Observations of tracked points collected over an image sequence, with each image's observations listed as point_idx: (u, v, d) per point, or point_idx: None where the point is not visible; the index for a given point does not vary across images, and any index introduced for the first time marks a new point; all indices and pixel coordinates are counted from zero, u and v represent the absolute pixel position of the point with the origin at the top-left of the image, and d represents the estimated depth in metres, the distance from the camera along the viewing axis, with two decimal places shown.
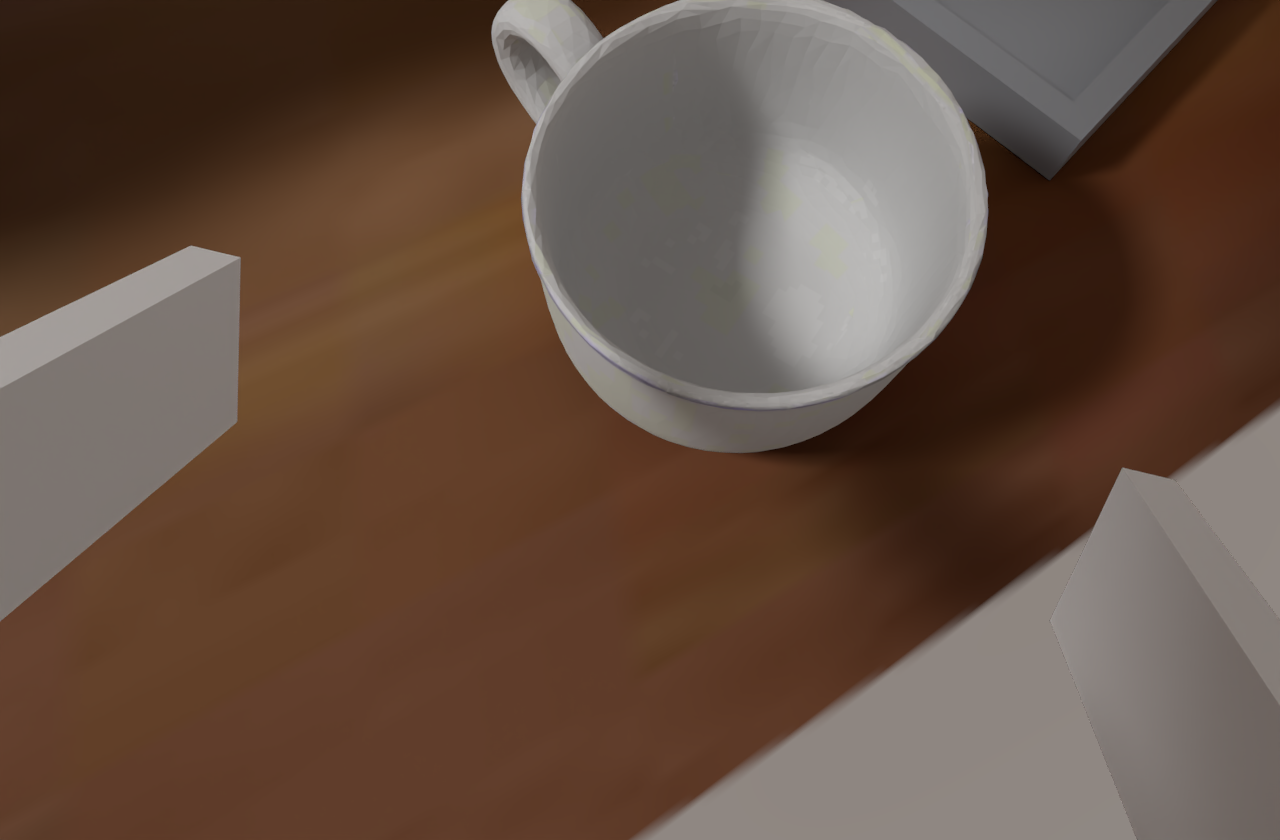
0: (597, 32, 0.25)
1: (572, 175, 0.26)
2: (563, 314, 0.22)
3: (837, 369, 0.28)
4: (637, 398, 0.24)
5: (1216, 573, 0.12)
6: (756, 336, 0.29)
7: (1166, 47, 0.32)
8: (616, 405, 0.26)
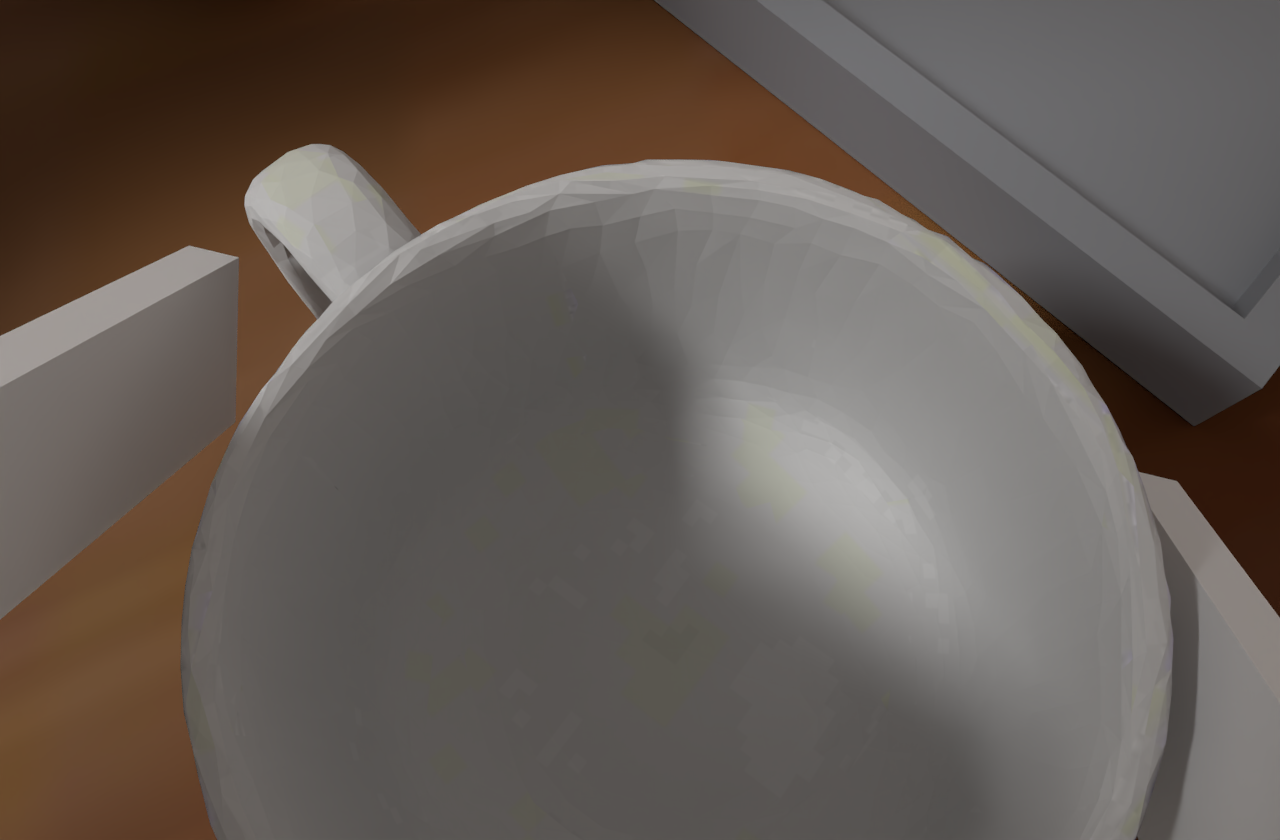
0: (408, 229, 0.13)
1: (380, 466, 0.15)
2: None
3: (856, 814, 0.16)
4: None
5: (1218, 574, 0.12)
6: (717, 733, 0.17)
7: None
8: None
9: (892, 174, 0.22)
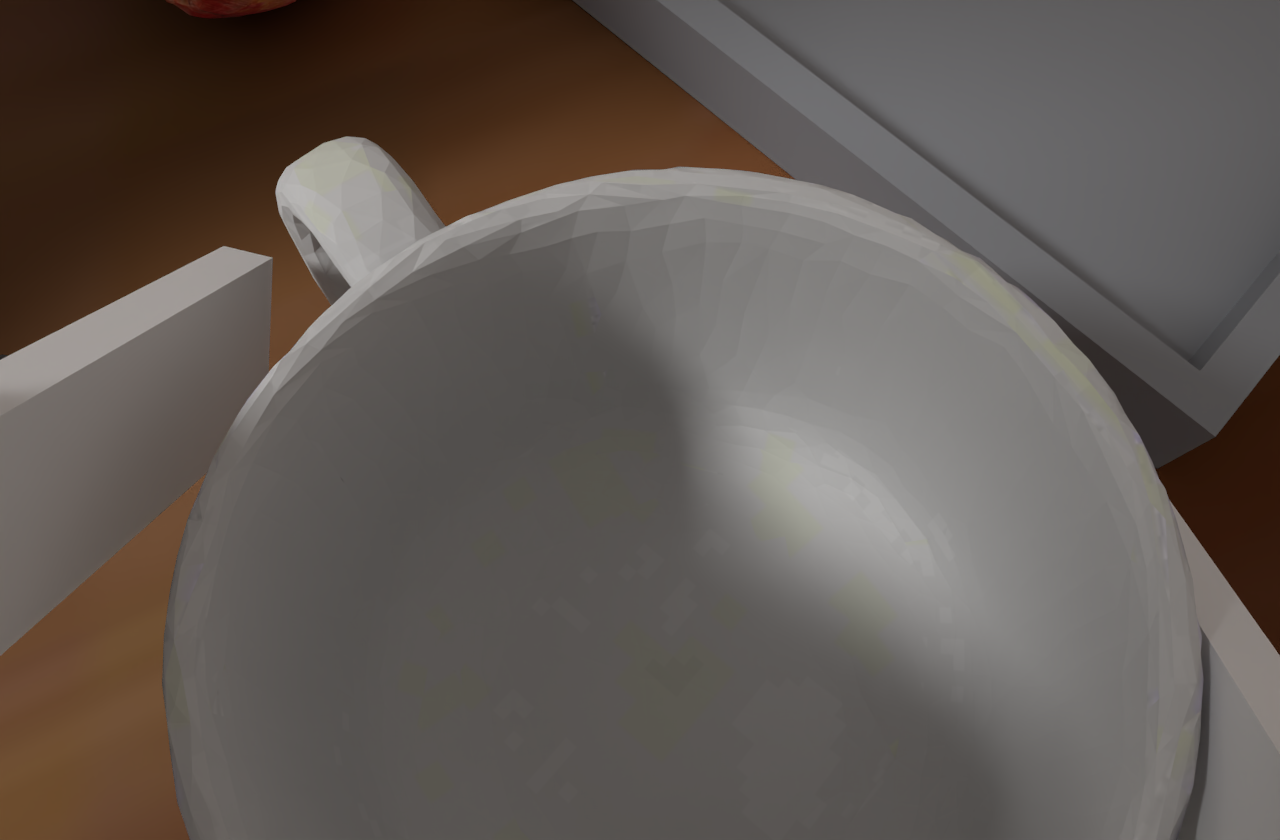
0: (435, 223, 0.13)
1: (388, 464, 0.15)
2: (188, 828, 0.10)
3: None
4: None
5: None
6: (716, 770, 0.16)
7: None
8: None
9: None
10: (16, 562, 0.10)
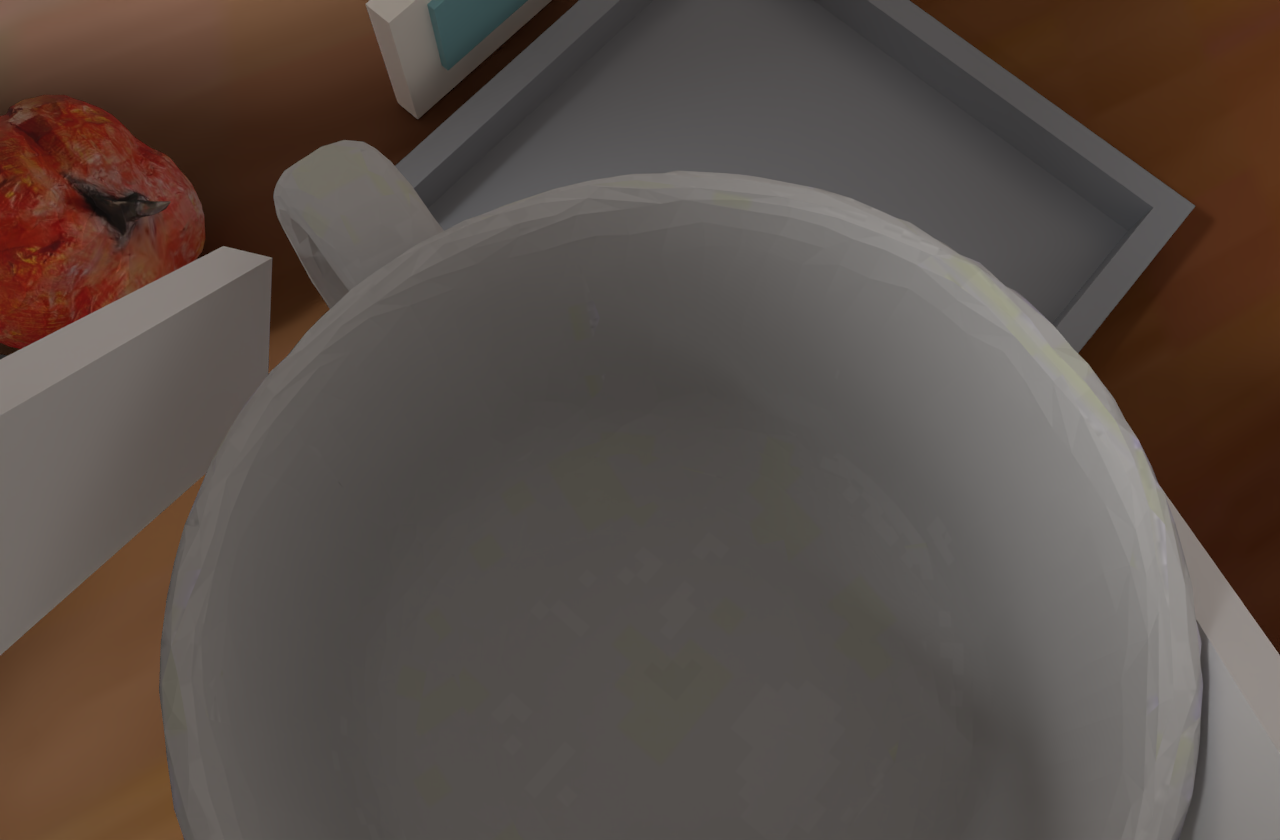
0: (433, 226, 0.13)
1: (387, 468, 0.15)
2: (185, 835, 0.10)
3: None
4: None
5: None
6: (715, 774, 0.16)
7: None
8: None
9: None
10: (16, 562, 0.10)
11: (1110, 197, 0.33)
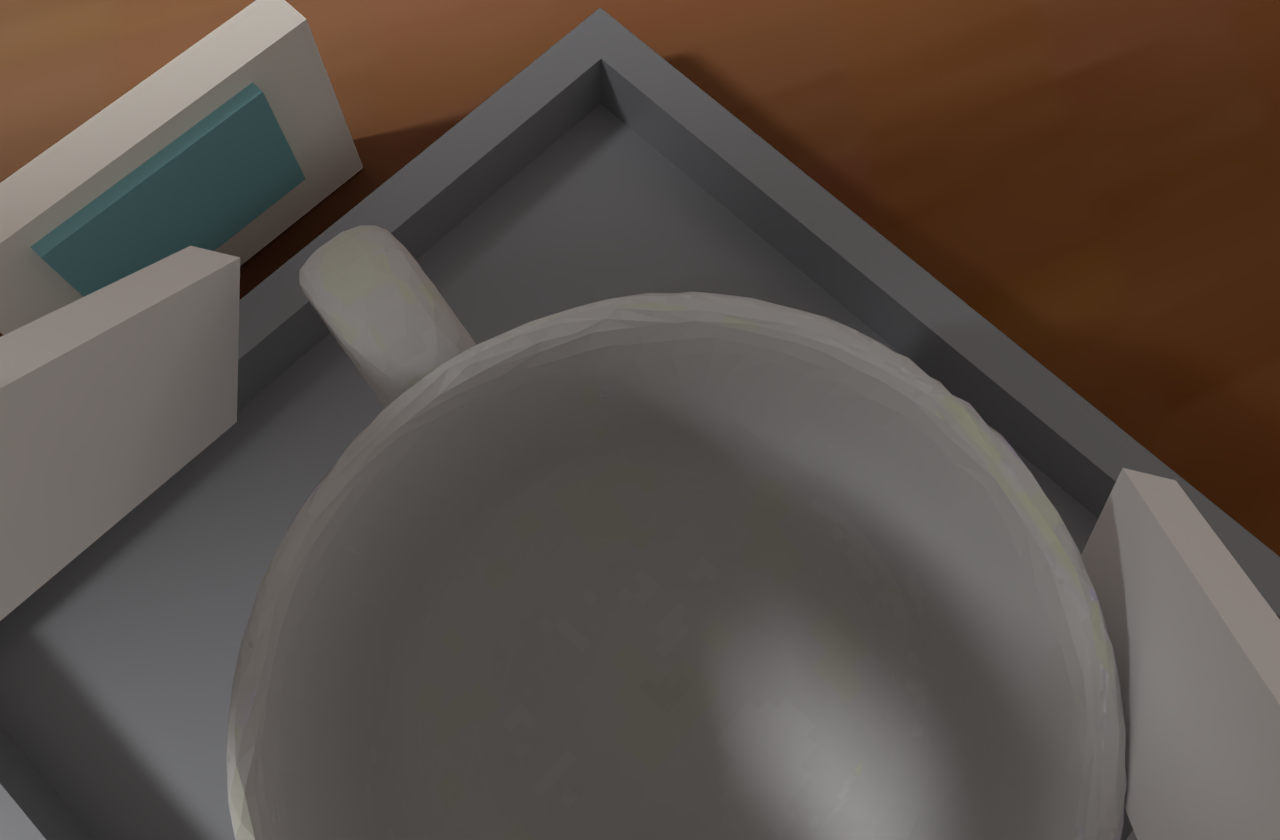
0: (456, 330, 0.14)
1: (410, 530, 0.16)
2: None
3: None
4: None
5: (1217, 573, 0.12)
6: (699, 782, 0.18)
7: None
8: None
9: None
10: None
11: None
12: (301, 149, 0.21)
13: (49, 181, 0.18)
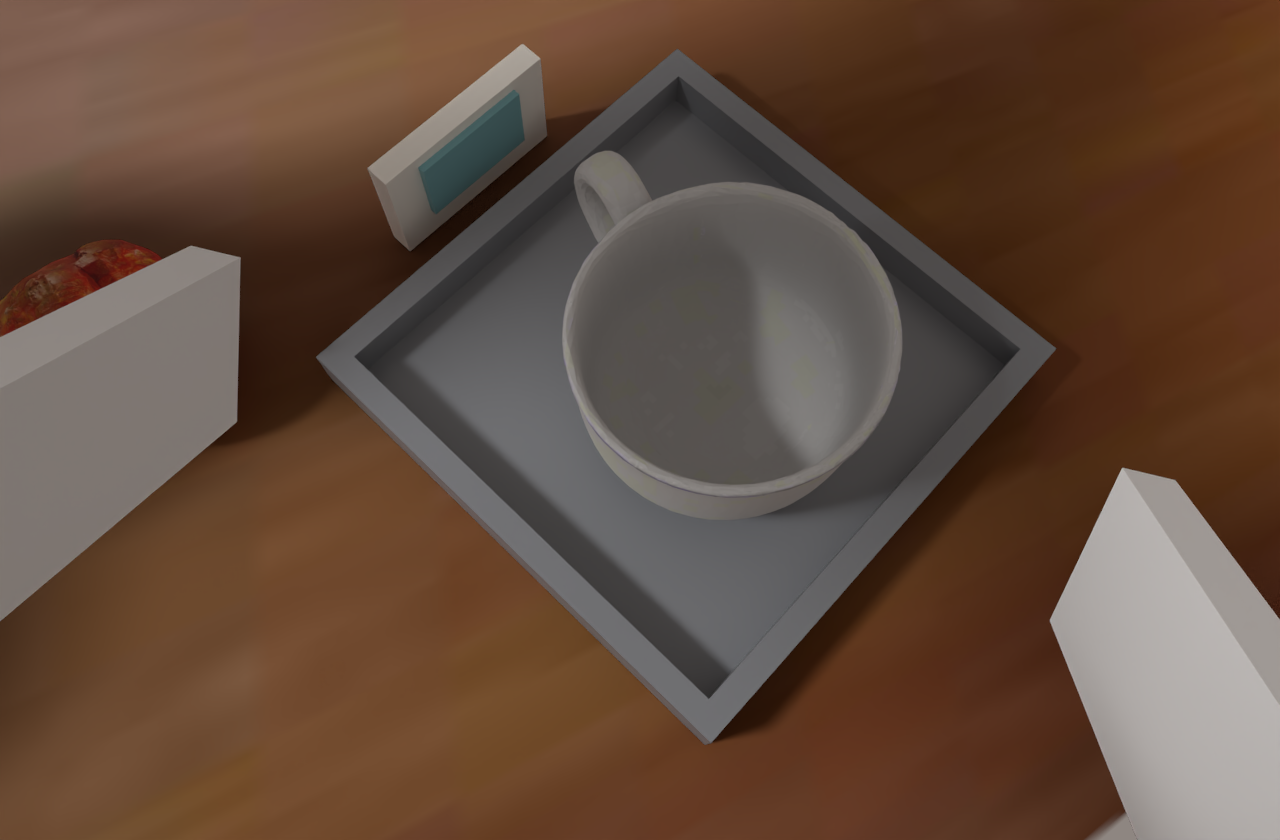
0: (647, 194, 0.34)
1: (613, 288, 0.35)
2: (575, 397, 0.31)
3: (787, 468, 0.37)
4: (619, 465, 0.32)
5: (1216, 573, 0.12)
6: (733, 430, 0.37)
7: (803, 635, 0.34)
8: (609, 464, 0.34)
9: (541, 584, 0.36)
10: None
11: (988, 337, 0.39)
12: (524, 124, 0.41)
13: (427, 136, 0.37)
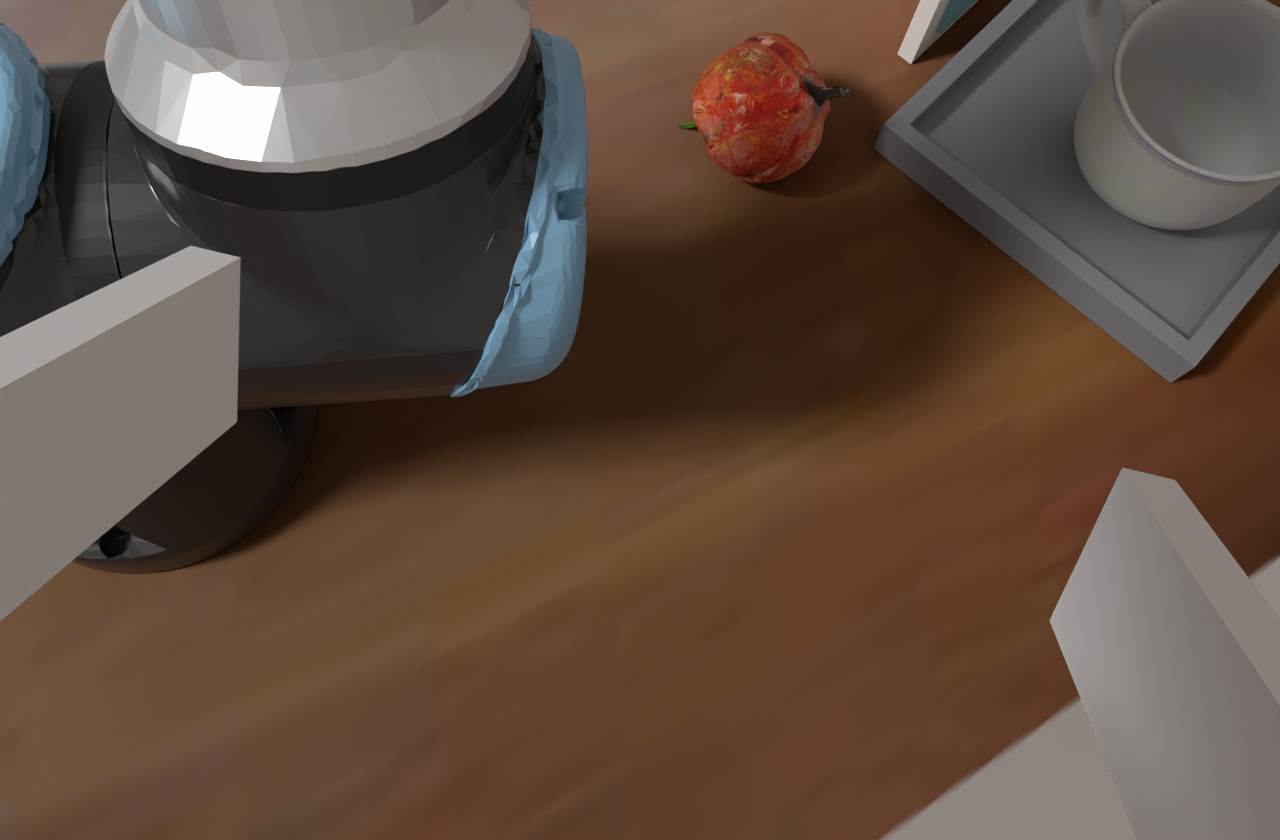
0: None
1: None
2: (1130, 122, 0.47)
3: None
4: (1143, 175, 0.48)
5: (1216, 573, 0.12)
6: None
7: (1245, 303, 0.51)
8: (1114, 186, 0.50)
9: (1047, 280, 0.53)
10: None
11: None
12: None
13: None
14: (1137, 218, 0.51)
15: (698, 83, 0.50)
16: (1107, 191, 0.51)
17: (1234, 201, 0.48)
